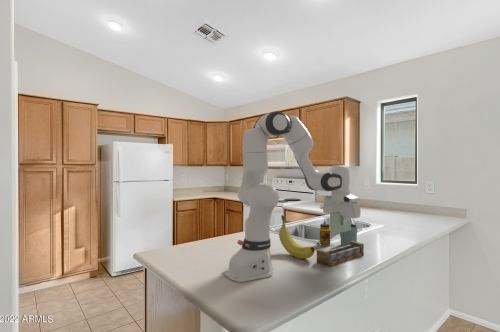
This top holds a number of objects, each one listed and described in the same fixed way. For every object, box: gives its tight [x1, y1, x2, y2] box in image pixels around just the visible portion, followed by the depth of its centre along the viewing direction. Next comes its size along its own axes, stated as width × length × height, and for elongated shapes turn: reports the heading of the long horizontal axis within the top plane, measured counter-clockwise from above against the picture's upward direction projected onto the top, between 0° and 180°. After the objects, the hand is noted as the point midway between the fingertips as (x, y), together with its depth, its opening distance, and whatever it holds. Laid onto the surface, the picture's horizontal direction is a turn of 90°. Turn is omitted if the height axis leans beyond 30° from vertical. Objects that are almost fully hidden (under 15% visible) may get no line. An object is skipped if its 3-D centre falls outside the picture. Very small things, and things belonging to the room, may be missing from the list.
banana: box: [278, 214, 315, 260], centre depth 140 cm, size 23×6×20 cm, turn 39°
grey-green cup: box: [339, 223, 358, 247], centre depth 158 cm, size 10×10×12 cm
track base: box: [316, 241, 365, 267], centre depth 136 cm, size 28×7×6 cm, turn 125°
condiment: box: [319, 223, 333, 247], centre depth 161 cm, size 7×8×12 cm
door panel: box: [329, 212, 352, 235], centre depth 136 cm, size 14×2×10 cm, turn 125°
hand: (340, 224), depth 136 cm, fingers closed on door panel, 2 cm apart
